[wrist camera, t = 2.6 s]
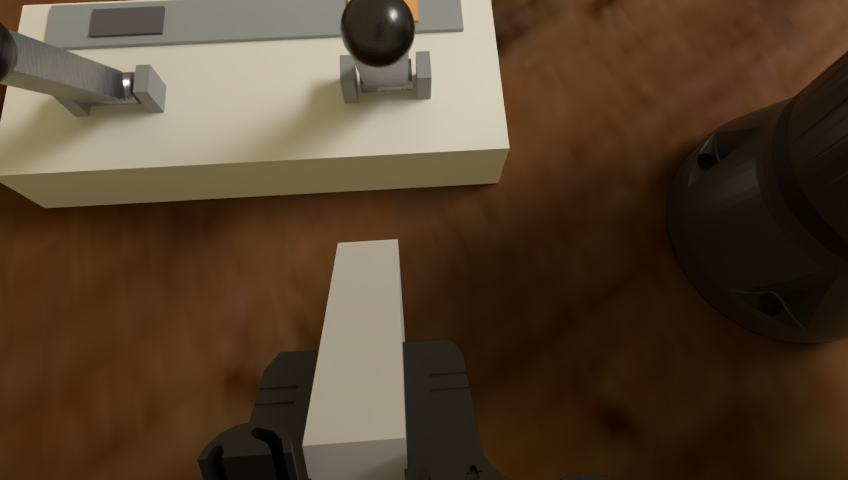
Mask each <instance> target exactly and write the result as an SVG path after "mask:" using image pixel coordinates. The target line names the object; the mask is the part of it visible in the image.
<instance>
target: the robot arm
mask: <svg viewBox="0 0 848 480" xmlns="http://www.w3.org/2000/svg"><path fill="white" fill-rule="evenodd" d="M667 221H668V229H669V234H670V239H671V242H672V246H673V248H674V251H675V254H676V256H677V258H678V261H679V263H680V265H681V266H682V268H683V270H684V272H685V273H686V275H687V277H688V278H689V279H690V281H691V282H692V284H693V285H694V286H695V287H696V289H697V290H698V291H699V292H700V293H701V294H702V296H703V297H704V298H705V299H706V300H707V301H708V302H709V303H710V304H712V305H713V306H714V307H715V308H716V309H717V310H719V311H720V312H721V313H722V314H724V315H725V316H726V317H728V318H729V319H731V320H732V321H734V322H736V323H737V324H739V325H741V326H743V327H745V328H747V329H749V330H751V331H753V332H755V333H758V334H760V335H763V336H766V337H769V338H772V339H776V340H780V341H786V342H792V343H808V344H810V343H823V342H829V341H834V340H839V339H844V338H848V51H847V52H846V53H845V54H844V55H842V56H841V57H840V58H839V59H838V60H837V61H835V62H834V63H833V64H832V65H831V66H829V67H828V68H827V69H826V70H825V71H824V72H822V73H821V74H820V75H819V76H818V77H817V78H815V79H814V80H813V81H812V82H811V83H810V84H809V85H808V86H806V87H805V88H804V89H803V90H802V91H801V92H800V93H798V94H797V95H796V96H795V97H792V98H789V99H786V100H784V101H781V102H778V103H776V104H773V105H770V106H768V107H765V108H762V109H759V110H757V111H754V112H751V113H749V114H746V115H743V116H741V117H738V118H736V119H733V120H731V121H729V122H728V123H726V124H724V125H722V126H721V127H719V128H718V129H716V130H715V131H713V132H712V133H711V134H710V135H708V136H707V137H706V138H705V139H704V140H703V141H702V142H701V143H700V144H699V145H698V146H697V147H696V148H695V149H694V150H693V151H692V152H691V153H690V154H689V155H688V156H687V157H686V159H685V160H684V161H683V163H682V164H681V166H680V167H679V169H678V171H677V173H676V175H675V177H674V179H673V182H672V184H671V188H670V192H669V196H668V204H667ZM198 463H199V466H200V470H201V473H202V476H203V479H204V480H510V479H508V478H506V477H505V476H503V475H501V474H500V473H498V472H497V471H496V470H495V469H494V468H493V467H492V466H491V465H490V464H489V462H488V461H487V460H486V458H485V457H484V454H483V451H482V448H481V444H480V439H479V433H478V428H477V423H476V418H475V413H474V408H473V402H472V397H471V392H470V388H469V382H468V377H467V371H466V366H465V361H464V356H463V353H462V352H461V351H460V350H459V348H458V347H457V346H456V345H455V344H454V343H453V341H452V340H451V339H439V340H425V341H411V342H405V338H404V320H403V306H402V292H401V278H400V264H399V250H398V239H393V240H378V241H362V242H347V243H338V246H337V252H336V257H335V263H334V269H333V274H332V280H331V286H330V291H329V297H328V303H327V308H326V314H325V320H324V325H323V331H322V337H321V342H320V348H319V350H306V351H292V352H280V353H279V354H278V355H277V356H276V358H275V359H274V360H273V361H272V362H271V363H270V364H269V366H268V367H267V368H266V369H265V371H264V375H263V378H262V381H261V384H260V388H259V392H258V394H257V398H256V401H255V408H253V411H252V414H251V418H250V421H249V423H246V424H241V425H237V426H235V427H233V428H231V429H228V430H226V431H224V432H222V433H220V434H219V435H218V436H217V437H216V438H214V439H213V440H212V441H211V442H210V443H209V444H207V445H206V447H205V448H204V450H203V452H202V453H201V455H200V456H199V458H198ZM560 480H611V479H609V478H608V477H606V476H602V475H597V474H592V473H578V474H570V475H568V476H566V477H564V478H562V479H560Z"/></svg>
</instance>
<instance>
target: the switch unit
mask: <svg viewBox="0 0 848 480" xmlns="http://www.w3.org/2000/svg"><path fill="white" fill-rule="evenodd" d="M349 1H350V0H132V1H110V2H88V3H65V4H43V5H23V9H22V15H21V20H20V25H19V30H18V33H20V34H22V35H25V36H28V37H30V38H33V39H36V40H39V41H41V42H44V43H47V44H49V45H52V46H55V47H58V48H60V49H63V50H66V51H68V52H71V53H74V54H77V55H79V56H82V57H85V58H87V59H90V60H93V61H95V62H98V63H101V64H104V65H106V66H109V67H112V68H114V69H117V70H120V71H122V72H135V77H134V86H133V93H134V94H135V96H136V97H137V98H138V99H139V100H140V101H141V104H128V105H108V106H88V107H87V106H84V105H83V104H82V103H81V102H78V101H74V100H69V99H65V98H60V97H56V96H52V95H47V94H43V93H38V92H34V91H30V90H25V89H21V88H16V87H12V86H8V85H7V91H6V96H5V101H4V106H3V111H2V116H1V121H0V182H1V183H2V184H4V185H6V186H8V187H9V188H11V189H13V190H14V191H16V192H18V193H20V194H21V195H23V196H25V197H27V198H28V199H30V200H32V201H33V202H35V203H37V204H39V205H40V206H42V207H44V208H58V207H76V206H94V205H112V204H130V203H148V202H167V201H185V200H203V199H221V198H239V197H257V196H275V195H293V194H311V193H329V192H347V191H365V190H383V189H401V188H419V187H437V186H456V185H474V184H492V183H498V181H499V178H500V175H501V172H502V169H503V166H504V163H505V160H506V157H507V154H508V151H509V141H508V133H507V125H506V117H505V109H504V101H503V93H502V85H501V77H500V69H499V61H498V53H497V45H496V37H495V30H494V22H493V14H492V6H491V0H404V1H405V3H406V4H407V5H408V7H409V8H410V10H411V12H412V15H413V18H414V22H415V38H414V41H413V44H412V47H411V49H410V51H409V59H410V58H411V66H412V90H408V91H388V92H368V93H362V92H361V86H360V75H359V72H358V70H357V67H356V65H355V63H354V61H353V58H352V56H351V55H350V54H349V52H348V51H347V50H346V48H345V46H344V44H343V41H342V37H341V31H340V23H341V17H342V14H343V11H344V9H345V7H346V5H347V4H348V3H349Z"/></svg>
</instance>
